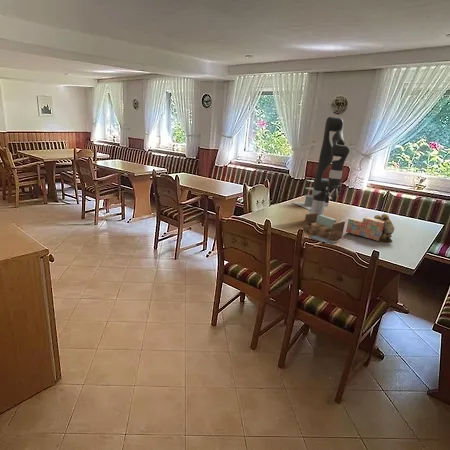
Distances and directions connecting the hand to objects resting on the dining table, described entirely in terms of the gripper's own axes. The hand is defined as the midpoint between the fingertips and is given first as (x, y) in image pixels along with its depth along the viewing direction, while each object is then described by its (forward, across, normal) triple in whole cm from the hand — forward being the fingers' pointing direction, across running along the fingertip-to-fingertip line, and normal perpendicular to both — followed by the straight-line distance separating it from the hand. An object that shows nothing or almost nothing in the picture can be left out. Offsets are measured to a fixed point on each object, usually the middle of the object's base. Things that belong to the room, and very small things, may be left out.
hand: (330, 202), depth 213 cm
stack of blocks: (+20, -19, +17) cm, 33 cm away
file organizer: (+21, -64, -53) cm, 86 cm away
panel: (+20, 0, 0) cm, 20 cm away
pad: (+21, +14, +8) cm, 26 cm away
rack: (+21, +3, 0) cm, 21 cm away
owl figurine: (+22, -27, +24) cm, 42 cm away
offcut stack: (+20, +4, 0) cm, 21 cm away
